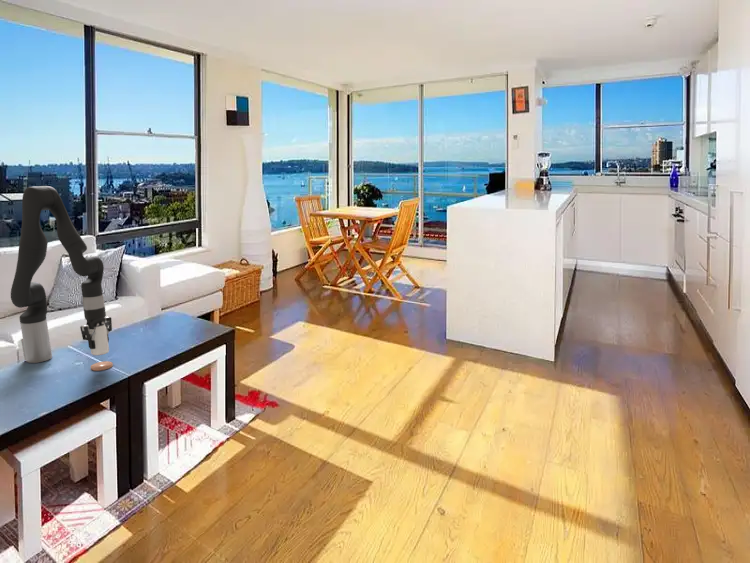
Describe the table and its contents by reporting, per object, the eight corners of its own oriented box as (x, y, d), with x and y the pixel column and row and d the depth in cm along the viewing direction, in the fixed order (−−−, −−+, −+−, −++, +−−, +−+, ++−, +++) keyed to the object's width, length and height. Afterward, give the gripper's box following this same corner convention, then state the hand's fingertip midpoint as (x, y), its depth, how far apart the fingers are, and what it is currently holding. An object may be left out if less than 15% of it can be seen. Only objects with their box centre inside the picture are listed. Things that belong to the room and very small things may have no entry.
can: (112, 350, 207) (109, 322, 205) (102, 356, 201) (99, 327, 198) (98, 349, 208) (94, 322, 205) (87, 355, 202) (83, 327, 199)
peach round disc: (86, 369, 203) (85, 367, 203) (101, 362, 211) (100, 360, 210) (102, 371, 201) (102, 369, 201) (117, 364, 209) (117, 362, 209)
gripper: (100, 301, 208) (105, 339, 212) (71, 310, 194) (77, 351, 198) (115, 302, 206) (120, 340, 210) (87, 311, 192) (93, 352, 196)
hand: (99, 345), depth 204 cm, fingers closed on can, 6 cm apart
